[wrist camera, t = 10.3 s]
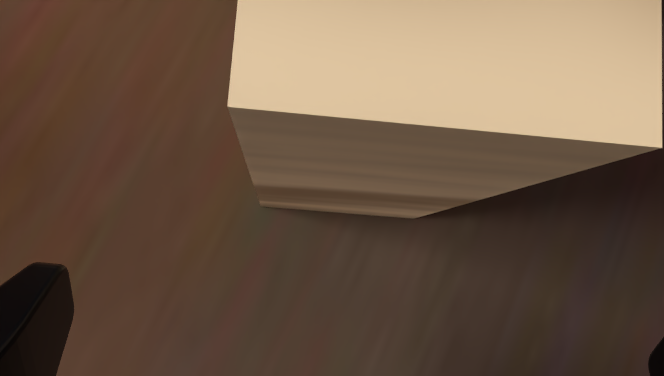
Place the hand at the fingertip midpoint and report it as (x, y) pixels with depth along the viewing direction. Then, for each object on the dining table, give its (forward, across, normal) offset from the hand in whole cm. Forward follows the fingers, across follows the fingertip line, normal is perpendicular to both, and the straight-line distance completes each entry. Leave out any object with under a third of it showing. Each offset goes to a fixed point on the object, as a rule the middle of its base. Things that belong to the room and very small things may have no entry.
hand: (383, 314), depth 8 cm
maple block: (+10, 0, +3) cm, 11 cm away
